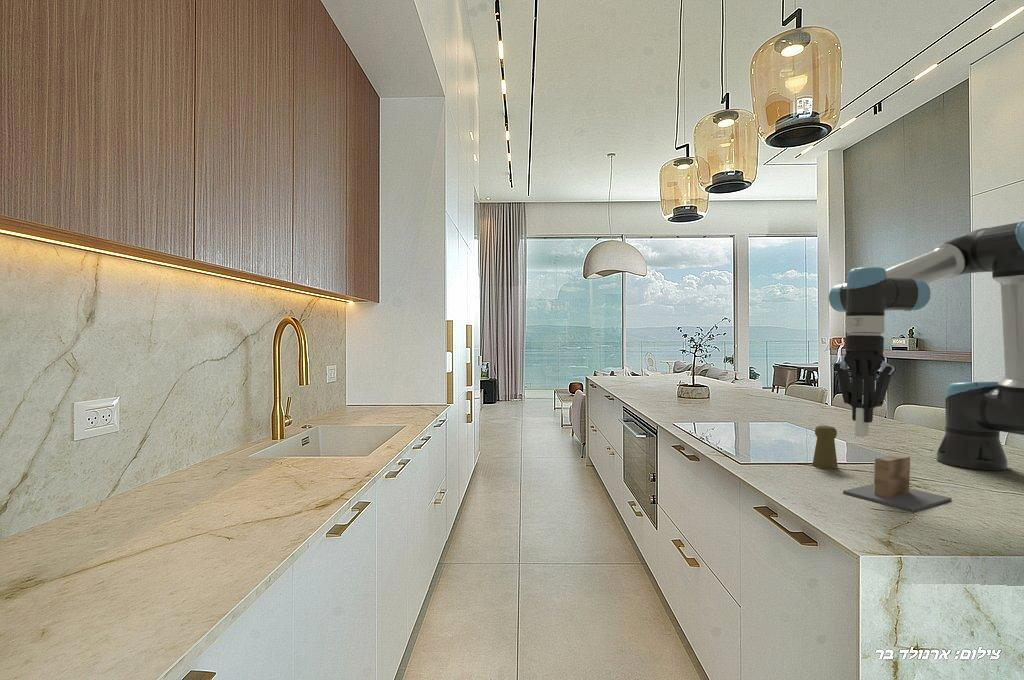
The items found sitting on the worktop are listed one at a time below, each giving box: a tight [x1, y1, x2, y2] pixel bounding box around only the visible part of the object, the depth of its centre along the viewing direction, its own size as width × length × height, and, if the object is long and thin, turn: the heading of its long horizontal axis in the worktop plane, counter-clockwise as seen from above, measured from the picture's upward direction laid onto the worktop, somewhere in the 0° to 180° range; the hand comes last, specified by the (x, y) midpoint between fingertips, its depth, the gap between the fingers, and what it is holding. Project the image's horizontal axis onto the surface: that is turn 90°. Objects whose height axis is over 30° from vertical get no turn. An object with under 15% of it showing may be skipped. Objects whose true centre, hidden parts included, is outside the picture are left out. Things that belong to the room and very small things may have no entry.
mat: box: [842, 483, 952, 512], centre depth 121 cm, size 16×14×1 cm
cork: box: [811, 424, 839, 470], centre depth 148 cm, size 6×6×11 cm
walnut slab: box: [873, 453, 911, 498], centre depth 121 cm, size 9×3×8 cm, turn 119°
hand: (861, 435), depth 127 cm, fingers closed
